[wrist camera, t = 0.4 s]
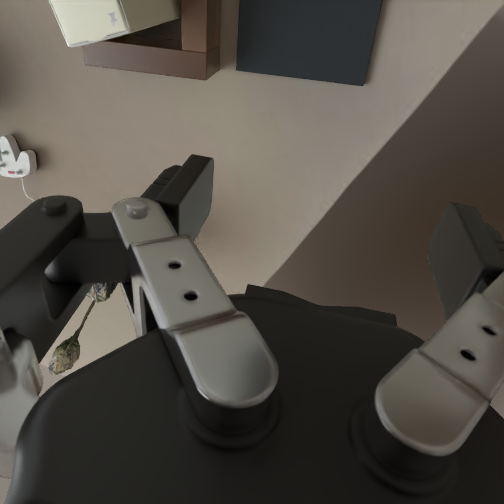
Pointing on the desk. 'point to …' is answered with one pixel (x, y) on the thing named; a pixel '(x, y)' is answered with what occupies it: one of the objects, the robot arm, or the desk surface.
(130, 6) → the box
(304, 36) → the mat
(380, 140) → the desk surface
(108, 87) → the desk surface
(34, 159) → the game controller
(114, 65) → the rack
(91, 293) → the plant with pod
